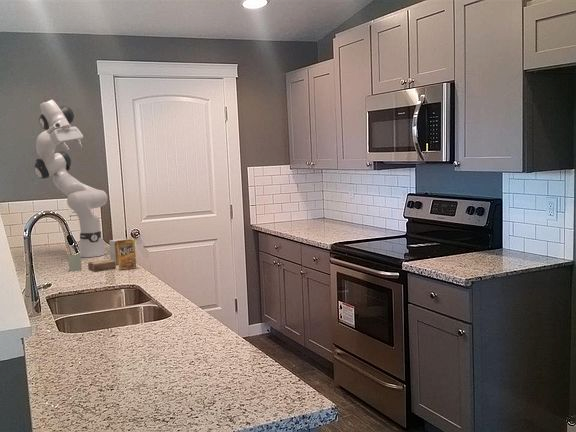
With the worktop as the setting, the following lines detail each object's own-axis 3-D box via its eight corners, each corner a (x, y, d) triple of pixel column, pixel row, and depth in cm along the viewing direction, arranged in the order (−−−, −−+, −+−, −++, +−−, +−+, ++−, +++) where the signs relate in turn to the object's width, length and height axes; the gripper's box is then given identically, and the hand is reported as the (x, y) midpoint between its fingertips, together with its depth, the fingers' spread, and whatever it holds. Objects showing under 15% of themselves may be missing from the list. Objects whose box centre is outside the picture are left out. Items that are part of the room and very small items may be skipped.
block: (69, 270, 310) (67, 247, 309) (78, 268, 313) (77, 246, 312) (71, 271, 306) (69, 248, 305) (81, 269, 310) (79, 246, 308)
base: (88, 269, 310) (87, 261, 309) (108, 266, 316) (108, 258, 316) (95, 271, 302) (94, 264, 302) (115, 268, 309) (115, 260, 308)
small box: (116, 265, 318) (114, 241, 317) (110, 263, 323) (108, 240, 321) (129, 262, 324) (128, 239, 322) (124, 261, 328) (122, 238, 327)
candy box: (119, 270, 304) (116, 240, 302) (118, 268, 308) (116, 239, 306) (136, 268, 307) (134, 239, 305) (136, 266, 311) (134, 238, 309)
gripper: (70, 127, 330) (83, 149, 330) (44, 131, 311) (57, 154, 312) (77, 121, 327) (91, 143, 327) (51, 125, 309) (65, 148, 309)
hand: (74, 148), depth 319 cm, fingers open, 8 cm apart
